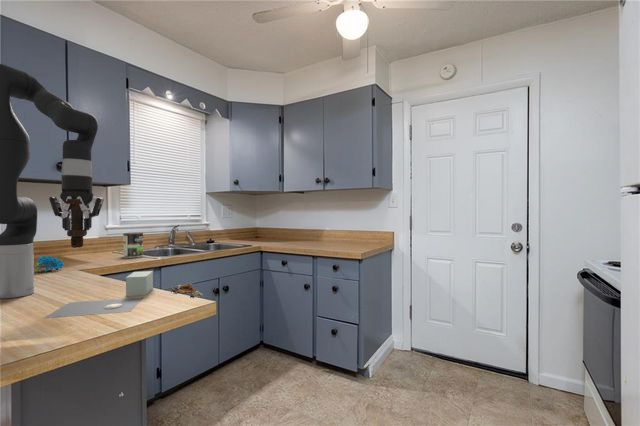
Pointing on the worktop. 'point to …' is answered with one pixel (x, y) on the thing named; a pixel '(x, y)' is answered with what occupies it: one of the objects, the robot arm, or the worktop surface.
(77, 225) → the bolt
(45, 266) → the blue flower cluster
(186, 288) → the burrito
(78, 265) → the worktop surface
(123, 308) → the board
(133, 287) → the pale green block
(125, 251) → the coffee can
